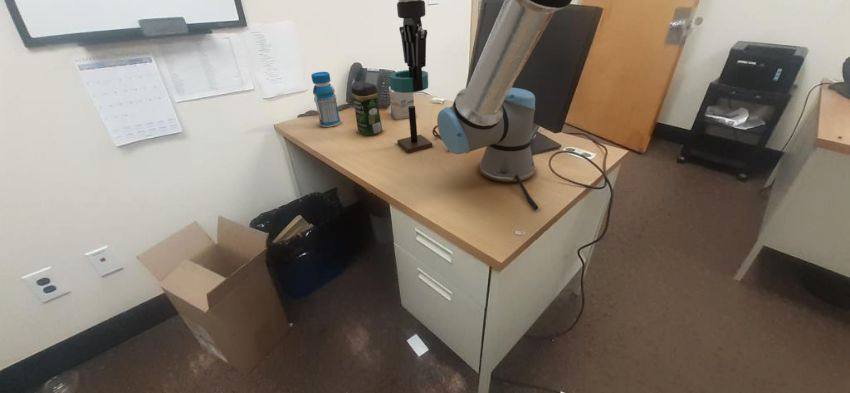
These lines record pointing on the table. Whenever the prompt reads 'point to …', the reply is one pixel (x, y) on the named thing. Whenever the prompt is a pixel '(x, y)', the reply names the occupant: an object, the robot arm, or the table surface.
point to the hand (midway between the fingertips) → (416, 89)
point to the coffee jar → (366, 108)
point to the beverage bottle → (325, 99)
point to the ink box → (400, 104)
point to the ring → (405, 81)
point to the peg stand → (414, 136)
